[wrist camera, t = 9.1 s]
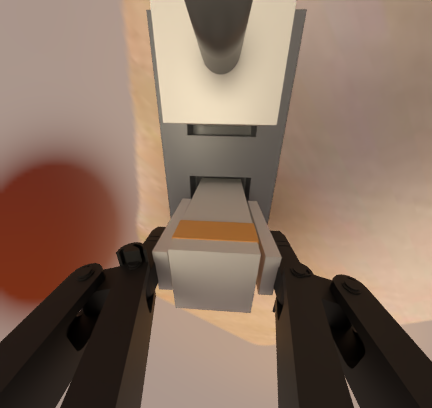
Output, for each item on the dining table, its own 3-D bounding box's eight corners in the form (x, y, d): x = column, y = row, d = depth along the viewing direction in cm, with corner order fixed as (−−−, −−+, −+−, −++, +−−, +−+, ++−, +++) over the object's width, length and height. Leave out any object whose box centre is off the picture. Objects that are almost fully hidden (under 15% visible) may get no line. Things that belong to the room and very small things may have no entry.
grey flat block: (284, 40, 14) (306, 9, 10) (257, 223, 21) (264, 243, 18) (166, 40, 14) (146, 10, 10) (181, 220, 22) (173, 239, 18)
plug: (238, 213, 19) (251, 313, 9) (202, 211, 19) (174, 308, 9) (241, 178, 17) (262, 253, 7) (201, 177, 17) (166, 248, 7)
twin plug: (247, 73, 14) (486, -462, 1) (243, 125, 16) (324, 124, 3) (200, 73, 14) (-15, -417, 1) (201, 125, 16) (110, 120, 3)
